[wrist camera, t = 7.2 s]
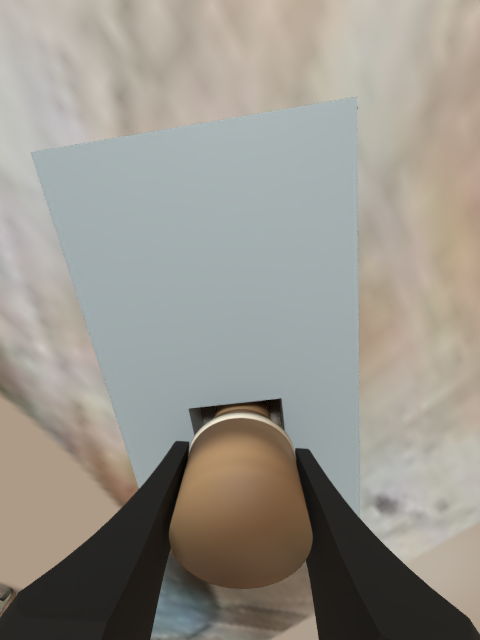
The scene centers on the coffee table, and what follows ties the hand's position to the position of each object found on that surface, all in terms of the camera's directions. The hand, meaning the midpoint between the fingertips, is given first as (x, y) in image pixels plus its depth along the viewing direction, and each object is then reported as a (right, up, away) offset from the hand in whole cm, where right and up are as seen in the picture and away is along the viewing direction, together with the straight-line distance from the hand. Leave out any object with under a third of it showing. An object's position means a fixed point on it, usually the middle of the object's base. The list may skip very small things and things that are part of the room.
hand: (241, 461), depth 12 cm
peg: (0, +1, +3) cm, 3 cm away
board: (-1, +5, +2) cm, 5 cm away
